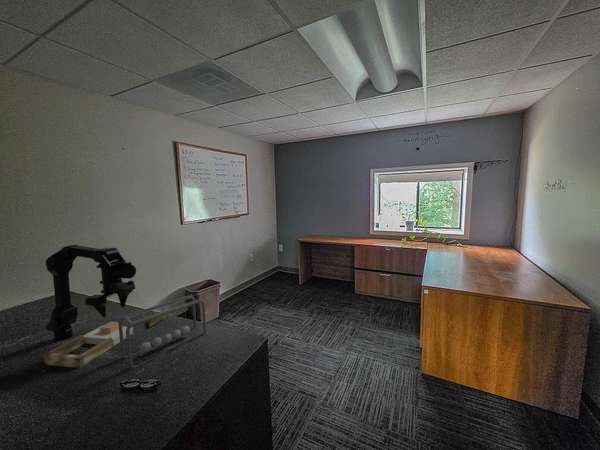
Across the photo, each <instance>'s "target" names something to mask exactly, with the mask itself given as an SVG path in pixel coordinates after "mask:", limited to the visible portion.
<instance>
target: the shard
mask: <svg viewBox="0 0 600 450" xmlns="http://www.w3.org/2000/svg"><path fill="white" fill-rule="evenodd" d="M165 319H167V315H164V316H161V317H158V318H155V319H154V320H153V319H152V320H149V321H148V327H149V328H151V327H152V326H153V327H154V323H155V325H157V324H158V323H159V322H161V321H164V320H165Z"/></svg>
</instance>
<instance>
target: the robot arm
mask: <svg viewBox="0 0 600 450" xmlns="http://www.w3.org/2000/svg"><path fill="white" fill-rule="evenodd" d="M78 257H79V258H85V259H91V260H93V261H94V262H96V263H98V264H97V265H96V267H95V268H97V269H100V273H101V280H99V284H100V285H102V290H100V293H101V294H93V295H91V296H88V297H86V298H85V300H84V303H85V306H91V307H93V308H94V309H95V310H96V311H97V313H99V314H100V316H101V317H102V318H106V314H107V313H106V311H107V309H106V305H107V304H108V302H107V300H108V299H107V298H109V297H112V296H114V295H117V298H118V301H119V305H120V307H121V308H122V309H123V308H125V306H126V303H127V300H128V297H129V295H130V294H131V293H133V291H134V290H135V289H136V285H135V282H134V281H133V280H129V281H125V282H123V279H132V278H134V277H135V276H136V273H137V268H136V267H135V265H133V264H132V261H127V260H126V259H125V258H124V256H123V255H122V254H121V252H120V251H119V250H118V248H116V247H105V248H95V247H89V246H82V245H79V244H70V245H65V246H64V247H62V248H61V249H60V250H58V251H56V252H55V253H53V254H51V255H50V256H49V257H47V259H46V260H45V265H46V271H48V272H49V273H50V274H51V276H52V278H53V279H52V281H53V289H54V291H53V292H54V302H55V303H54V304H55V307H54V309H53V310H52V312H51V314H50V320H49V321H48V322H47V324H46V325H45V328H46V331H47V332H52V335H53V339H51V340H50V341H49V343H53V342H54V341H55V342H60V341H65V340H69V339H71V338H72V337H73V336H74V335H73V334H74V333H73V327H72V324H73V323H74V324H75V323H76V321H77V317H78V315H79V313H78V307H77V306H74V305H73V304H72V301H71V290H70V289H71V288H70V276H69V275H70V274H69V273H70V272H71V270H72V268H73V265H74V261H75V260H76V259H78Z"/></svg>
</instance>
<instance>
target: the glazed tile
mask: <svg viewBox="0 0 600 450" xmlns="http://www.w3.org/2000/svg"><path fill="white" fill-rule="evenodd" d="M118 322H119V321H109V322H108V323H106V324H103V325H104V326H102V325H101V326H102V327H101V326H99V327H100V333H108V334H111V333H113V332H114V331H116V330H118V329H119V325H118Z"/></svg>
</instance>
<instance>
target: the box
mask: <svg viewBox="0 0 600 450" xmlns="http://www.w3.org/2000/svg"><path fill="white" fill-rule="evenodd" d="M83 336H84V335H82V334H81V335H78V336H77V337H75V338H72V339H71V340H69V341H67V342H64V343H62V344H61V345H59V346H57V347H55V348H54V349H51V350H50V351H48V352H45V354H43V360H44V365H46V366H55V367H56V366H57V367H63V368H64V367H66V368H79V369H80V368H82V367H83V366H85V365H87V364H88V363H90V362H91V361H93V360H94V359H95V358H97V357H99V356H100V355H102V354H104V353H106V351H108V350H110V349H111V348H113V347H114V346H113V341H112V338H107V339H106V340H104V341H103V342H101V343H99V344H95V345H94V346H93V347H91V348H90V349H88V350H86V351H85V352H82V353H81V354H71V352H73V351H75V350H76V349H78V348H80V347H81V346H83V345H84V344H85V343H84V338H83Z"/></svg>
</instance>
